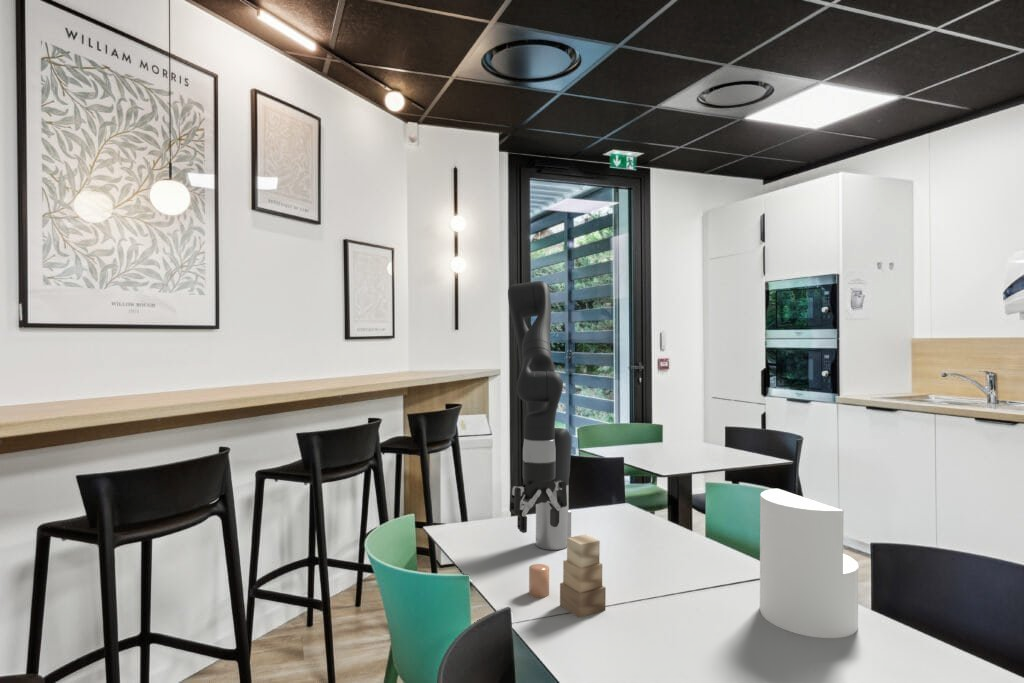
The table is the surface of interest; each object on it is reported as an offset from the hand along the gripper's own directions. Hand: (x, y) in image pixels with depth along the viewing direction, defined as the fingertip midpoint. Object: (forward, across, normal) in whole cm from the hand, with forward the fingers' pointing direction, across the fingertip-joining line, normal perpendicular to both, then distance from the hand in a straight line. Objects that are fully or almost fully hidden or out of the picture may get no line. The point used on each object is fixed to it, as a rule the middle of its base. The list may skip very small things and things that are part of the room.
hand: (538, 529), depth 142 cm
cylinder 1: (+15, 0, 0) cm, 15 cm away
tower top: (+5, -4, +11) cm, 13 cm away
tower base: (+15, -4, +11) cm, 19 cm away
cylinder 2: (+15, -42, +39) cm, 59 cm away
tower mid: (+10, -4, +11) cm, 15 cm away
